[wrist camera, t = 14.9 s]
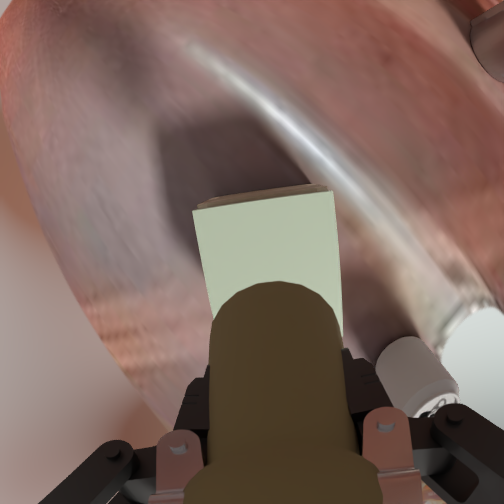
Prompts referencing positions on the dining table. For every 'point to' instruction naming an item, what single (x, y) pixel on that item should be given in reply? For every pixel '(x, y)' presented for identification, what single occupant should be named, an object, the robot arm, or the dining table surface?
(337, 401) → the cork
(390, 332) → the dining table surface
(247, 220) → the lid
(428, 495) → the coffeecake box
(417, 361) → the can
